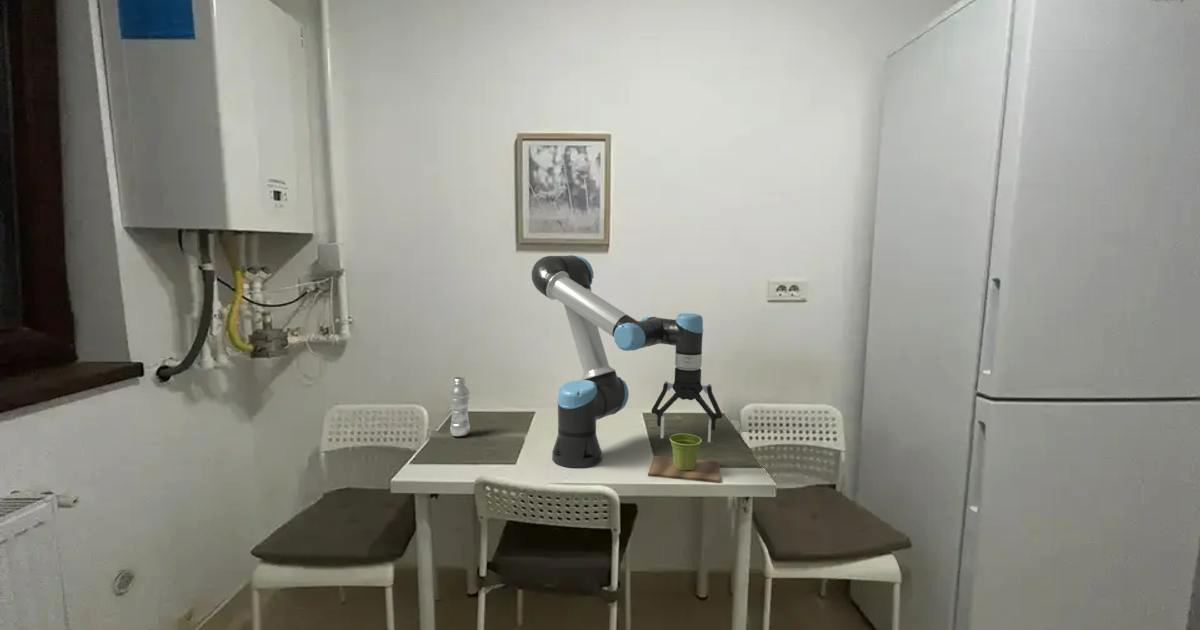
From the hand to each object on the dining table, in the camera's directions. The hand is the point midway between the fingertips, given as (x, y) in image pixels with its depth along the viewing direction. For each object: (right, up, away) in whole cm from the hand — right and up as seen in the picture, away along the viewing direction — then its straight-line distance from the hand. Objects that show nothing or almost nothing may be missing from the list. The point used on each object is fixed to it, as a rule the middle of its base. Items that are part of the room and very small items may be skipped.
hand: (685, 438), depth 166 cm
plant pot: (0, -9, +1) cm, 9 cm away
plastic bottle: (-73, -5, +29) cm, 78 cm away
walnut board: (0, -9, +1) cm, 9 cm away
